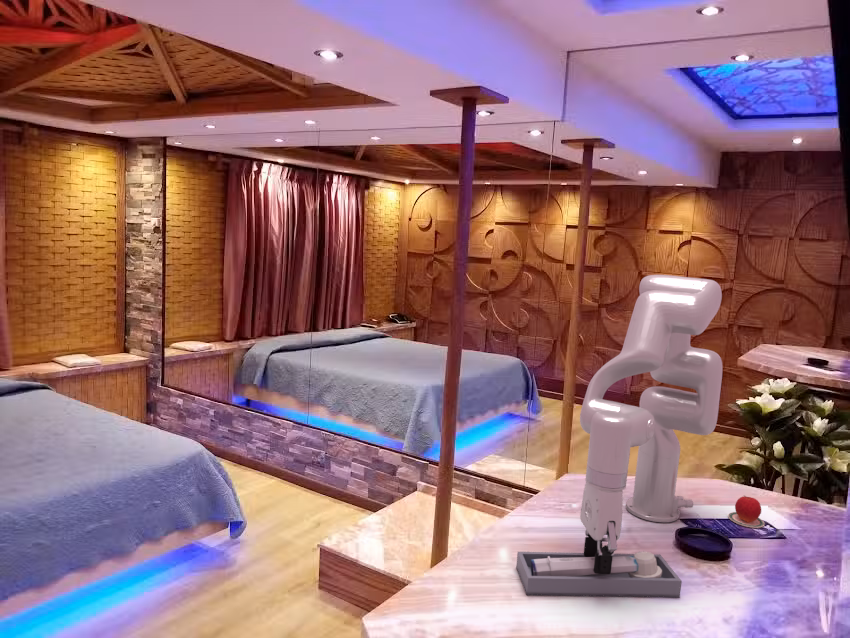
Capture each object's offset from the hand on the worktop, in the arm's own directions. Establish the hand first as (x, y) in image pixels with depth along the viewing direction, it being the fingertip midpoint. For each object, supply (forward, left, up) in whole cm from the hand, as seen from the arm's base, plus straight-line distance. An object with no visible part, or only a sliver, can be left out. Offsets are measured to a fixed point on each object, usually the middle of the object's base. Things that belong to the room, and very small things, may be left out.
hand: (596, 563), depth 125 cm
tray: (0, 0, -4) cm, 4 cm away
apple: (-47, -28, -4) cm, 55 cm away
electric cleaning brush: (0, +1, -4) cm, 4 cm away
